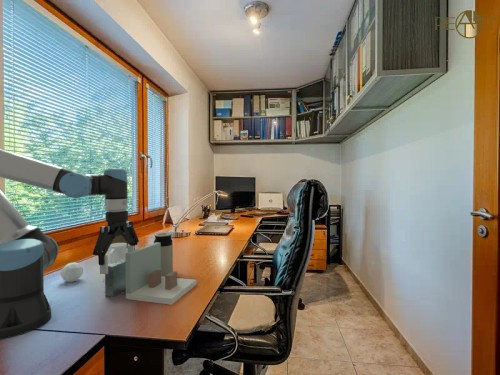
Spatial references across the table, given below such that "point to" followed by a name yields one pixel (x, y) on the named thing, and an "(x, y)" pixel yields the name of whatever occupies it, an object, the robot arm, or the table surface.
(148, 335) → the table surface
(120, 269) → the grey rectangular box
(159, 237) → the travel mug
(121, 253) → the mug
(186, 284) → the l-shaped bookend
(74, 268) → the ball
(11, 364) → the table surface
